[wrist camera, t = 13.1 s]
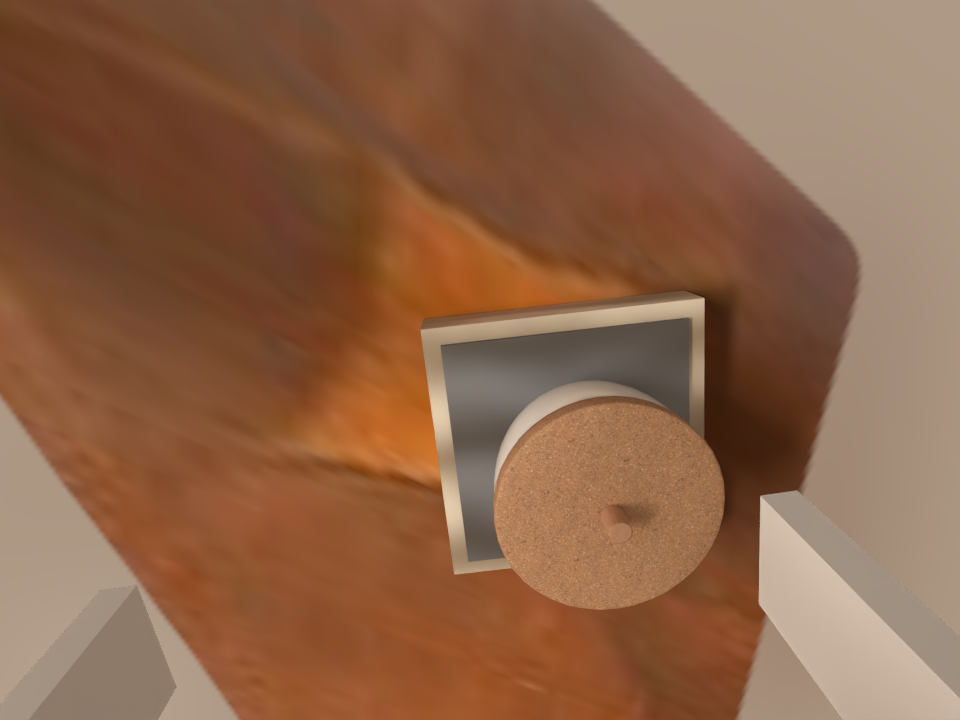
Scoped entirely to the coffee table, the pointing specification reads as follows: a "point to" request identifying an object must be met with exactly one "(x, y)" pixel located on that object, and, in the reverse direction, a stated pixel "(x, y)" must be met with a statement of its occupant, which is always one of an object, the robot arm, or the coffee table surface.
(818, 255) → the coffee table surface
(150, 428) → the coffee table surface
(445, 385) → the stand
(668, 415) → the lidded jar
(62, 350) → the coffee table surface
